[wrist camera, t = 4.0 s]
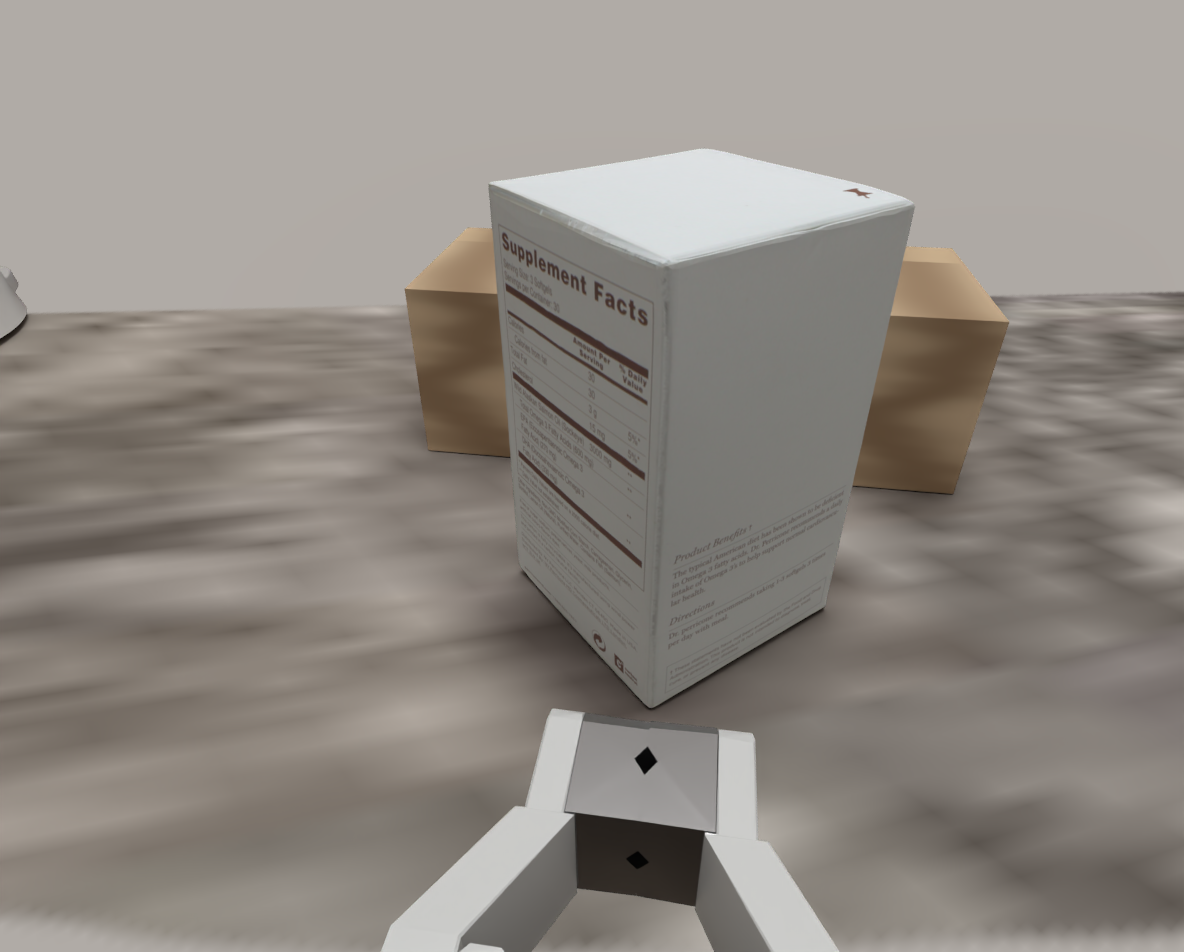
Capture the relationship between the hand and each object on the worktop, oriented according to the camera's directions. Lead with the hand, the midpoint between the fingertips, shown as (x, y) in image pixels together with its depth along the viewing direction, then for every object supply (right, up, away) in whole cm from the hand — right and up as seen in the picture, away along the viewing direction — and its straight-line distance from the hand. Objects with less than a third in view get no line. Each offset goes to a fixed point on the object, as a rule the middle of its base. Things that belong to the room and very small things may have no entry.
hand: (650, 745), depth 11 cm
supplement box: (+2, 0, +13) cm, 14 cm away
